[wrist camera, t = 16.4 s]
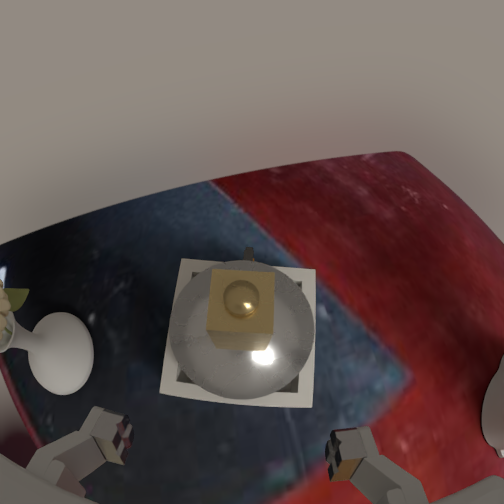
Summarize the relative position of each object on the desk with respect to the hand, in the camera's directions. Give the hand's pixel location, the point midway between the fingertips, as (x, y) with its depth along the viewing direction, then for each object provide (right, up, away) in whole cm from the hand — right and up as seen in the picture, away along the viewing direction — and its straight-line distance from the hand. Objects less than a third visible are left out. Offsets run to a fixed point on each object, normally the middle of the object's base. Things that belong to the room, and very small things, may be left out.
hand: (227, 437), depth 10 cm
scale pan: (0, -1, +23) cm, 23 cm away
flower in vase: (-24, -7, +22) cm, 33 cm away
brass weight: (0, 0, +17) cm, 17 cm away
